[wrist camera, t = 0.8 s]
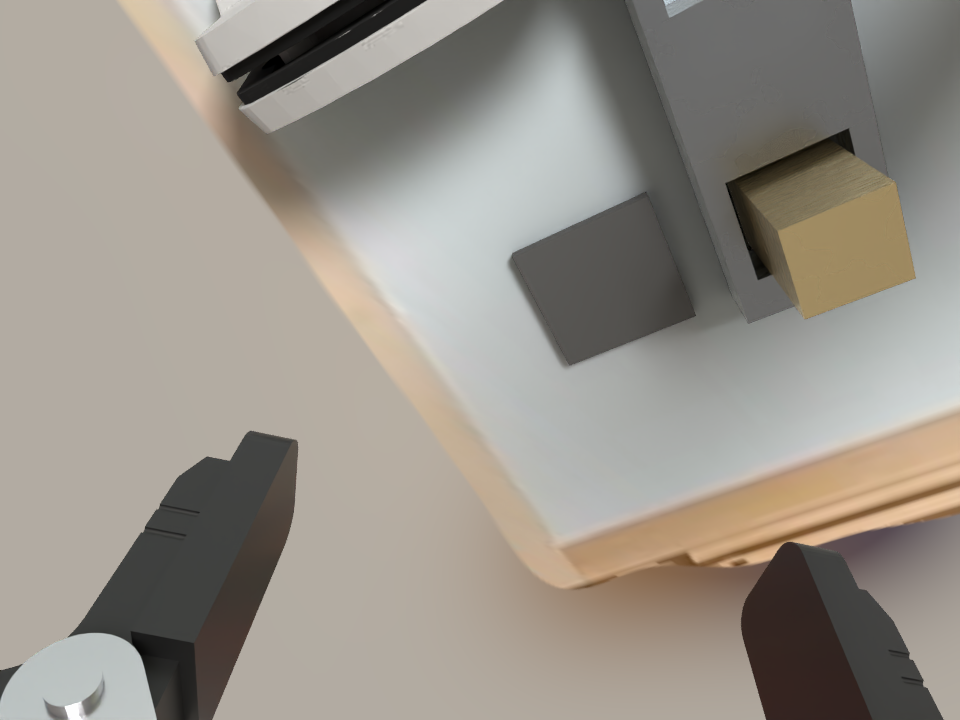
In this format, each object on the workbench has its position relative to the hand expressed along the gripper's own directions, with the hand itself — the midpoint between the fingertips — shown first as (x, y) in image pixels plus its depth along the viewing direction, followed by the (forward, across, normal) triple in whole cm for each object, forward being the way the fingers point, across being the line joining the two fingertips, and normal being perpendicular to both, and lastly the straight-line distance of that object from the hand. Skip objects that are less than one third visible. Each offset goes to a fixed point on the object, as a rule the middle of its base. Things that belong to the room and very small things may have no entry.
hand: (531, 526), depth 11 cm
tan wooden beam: (+24, -11, 0) cm, 26 cm away
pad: (+24, -5, +6) cm, 25 cm away
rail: (+24, -8, -5) cm, 25 cm away
